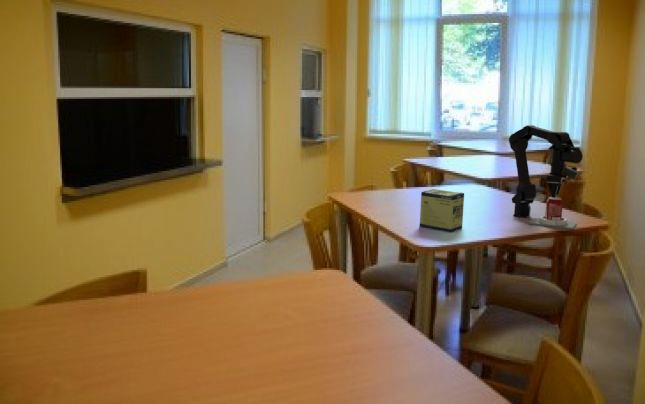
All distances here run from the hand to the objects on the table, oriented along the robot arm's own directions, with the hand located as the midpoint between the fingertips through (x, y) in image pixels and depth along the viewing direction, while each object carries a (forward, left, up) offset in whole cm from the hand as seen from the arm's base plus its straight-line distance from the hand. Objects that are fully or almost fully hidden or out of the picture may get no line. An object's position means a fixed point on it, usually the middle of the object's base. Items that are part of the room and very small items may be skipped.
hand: (555, 196), depth 259 cm
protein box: (-40, -34, -13) cm, 54 cm away
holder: (0, 0, -13) cm, 13 cm away
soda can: (0, 0, -13) cm, 13 cm away
